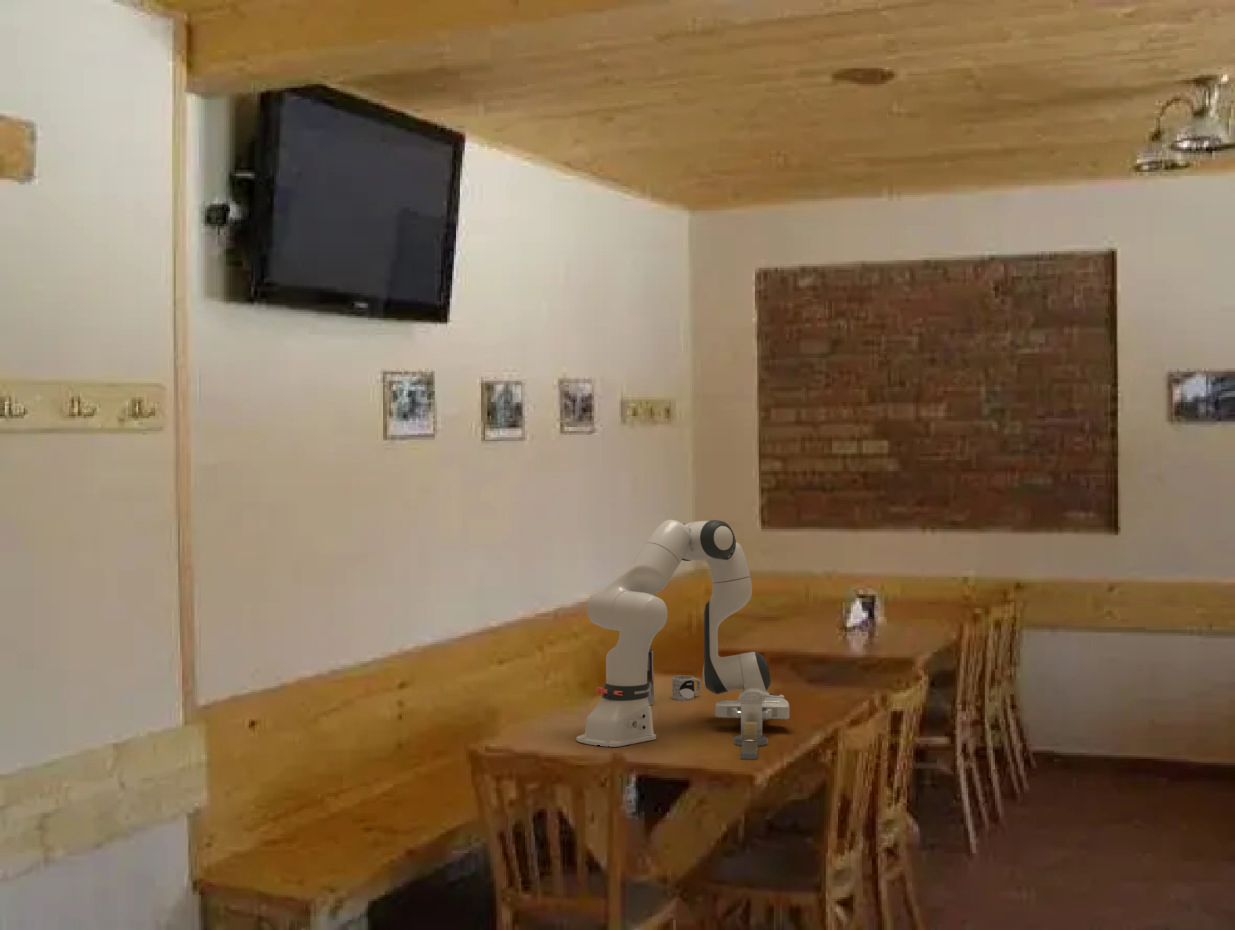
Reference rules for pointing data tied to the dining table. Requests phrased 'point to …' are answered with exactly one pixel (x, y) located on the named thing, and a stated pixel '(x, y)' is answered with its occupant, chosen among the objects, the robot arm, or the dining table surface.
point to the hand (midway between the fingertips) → (751, 715)
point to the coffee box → (650, 677)
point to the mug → (684, 687)
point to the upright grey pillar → (751, 712)
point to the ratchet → (750, 741)
